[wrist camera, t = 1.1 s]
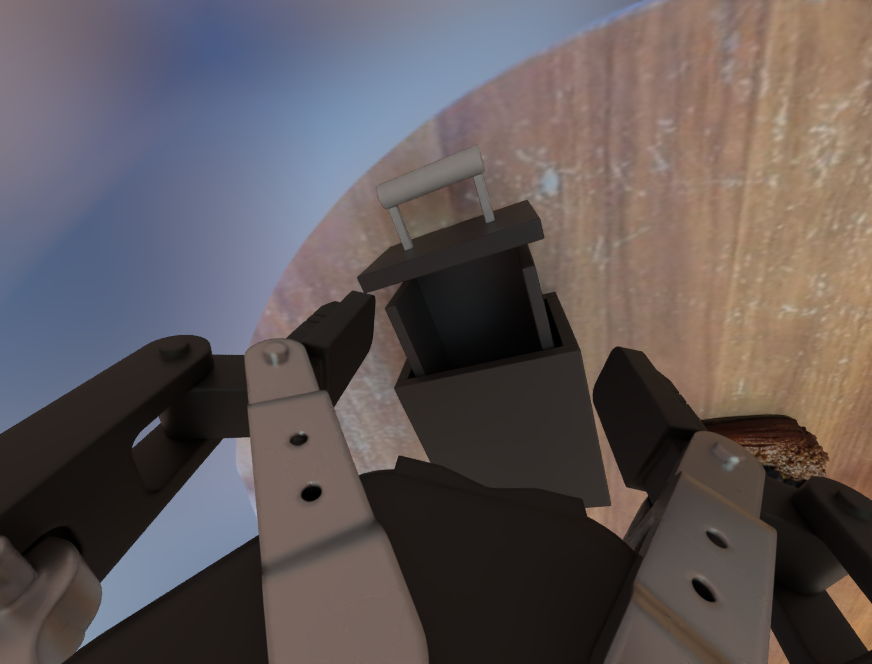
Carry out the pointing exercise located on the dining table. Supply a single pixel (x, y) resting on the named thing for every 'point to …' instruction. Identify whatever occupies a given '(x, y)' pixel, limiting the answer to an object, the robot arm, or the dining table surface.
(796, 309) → the dining table surface
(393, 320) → the dark brown drawer
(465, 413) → the drawer cabinet
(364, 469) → the dining table surface
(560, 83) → the dining table surface
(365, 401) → the dining table surface
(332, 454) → the robot arm
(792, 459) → the pastry
